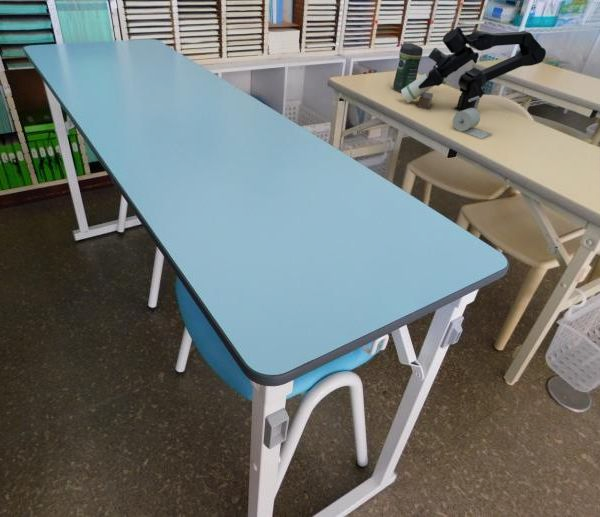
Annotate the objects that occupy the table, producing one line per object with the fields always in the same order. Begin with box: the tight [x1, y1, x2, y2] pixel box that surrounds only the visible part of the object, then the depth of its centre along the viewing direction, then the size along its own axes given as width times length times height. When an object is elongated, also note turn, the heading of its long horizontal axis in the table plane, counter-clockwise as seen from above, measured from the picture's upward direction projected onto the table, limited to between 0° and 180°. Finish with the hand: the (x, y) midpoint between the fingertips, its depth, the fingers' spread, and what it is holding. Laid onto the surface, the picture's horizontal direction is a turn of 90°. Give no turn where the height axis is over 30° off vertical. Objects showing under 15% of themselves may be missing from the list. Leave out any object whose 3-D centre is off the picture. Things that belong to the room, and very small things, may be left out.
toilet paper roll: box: [452, 96, 491, 139], centre depth 156 cm, size 10×11×12 cm
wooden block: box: [417, 91, 434, 110], centre depth 178 cm, size 4×8×4 cm, turn 157°
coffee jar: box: [392, 42, 424, 93], centre depth 189 cm, size 10×8×19 cm
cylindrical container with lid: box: [401, 72, 435, 104], centre depth 176 cm, size 12×6×12 cm, turn 83°
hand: (420, 85), depth 176 cm, fingers open, 6 cm apart
